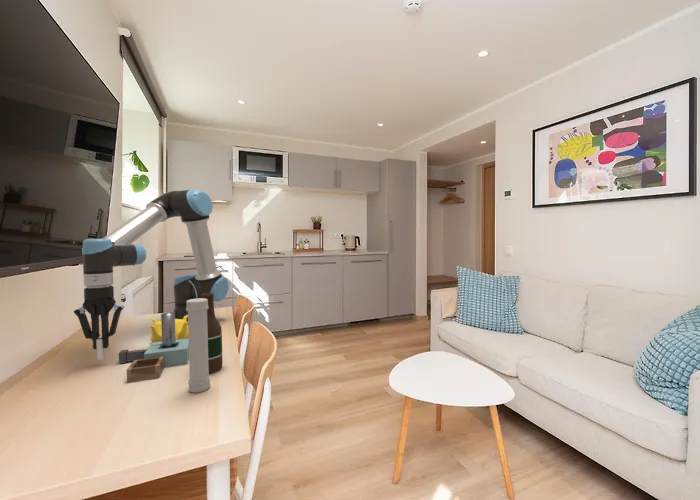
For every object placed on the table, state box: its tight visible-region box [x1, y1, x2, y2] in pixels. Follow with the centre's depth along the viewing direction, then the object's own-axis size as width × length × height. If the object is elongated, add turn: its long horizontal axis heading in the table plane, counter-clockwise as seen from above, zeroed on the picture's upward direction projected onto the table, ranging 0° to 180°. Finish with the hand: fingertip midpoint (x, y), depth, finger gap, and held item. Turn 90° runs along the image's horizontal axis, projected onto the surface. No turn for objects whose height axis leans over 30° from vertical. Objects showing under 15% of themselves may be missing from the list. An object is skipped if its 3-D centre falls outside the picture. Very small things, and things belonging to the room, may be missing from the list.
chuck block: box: [144, 338, 189, 368], centre depth 106 cm, size 12×12×5 cm
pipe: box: [186, 281, 211, 393], centre depth 85 cm, size 6×6×30 cm
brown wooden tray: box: [126, 356, 165, 383], centre depth 95 cm, size 8×8×4 cm
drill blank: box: [160, 311, 176, 349], centre depth 106 cm, size 4×4×16 cm
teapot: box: [147, 315, 189, 343], centre depth 126 cm, size 15×14×10 cm
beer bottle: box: [201, 292, 223, 375], centre depth 98 cm, size 8×8×24 cm
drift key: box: [118, 348, 148, 364], centre depth 106 cm, size 3×10×4 cm, turn 111°
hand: (101, 358), depth 103 cm, fingers closed
